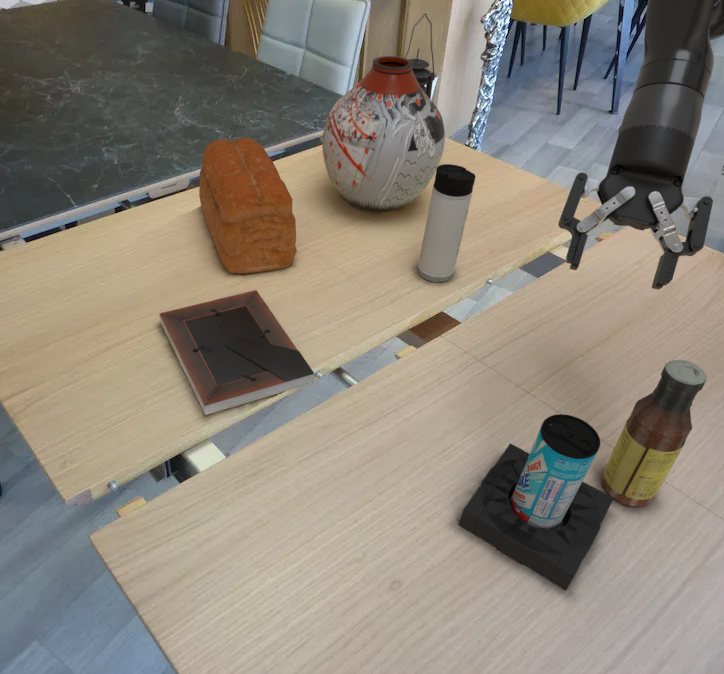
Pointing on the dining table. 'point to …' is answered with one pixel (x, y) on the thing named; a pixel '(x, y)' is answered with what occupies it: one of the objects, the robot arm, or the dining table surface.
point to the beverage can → (554, 471)
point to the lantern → (423, 66)
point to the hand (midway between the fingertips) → (614, 278)
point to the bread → (246, 207)
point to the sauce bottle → (653, 435)
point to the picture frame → (234, 351)
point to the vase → (383, 138)
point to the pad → (523, 542)
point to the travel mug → (445, 222)
